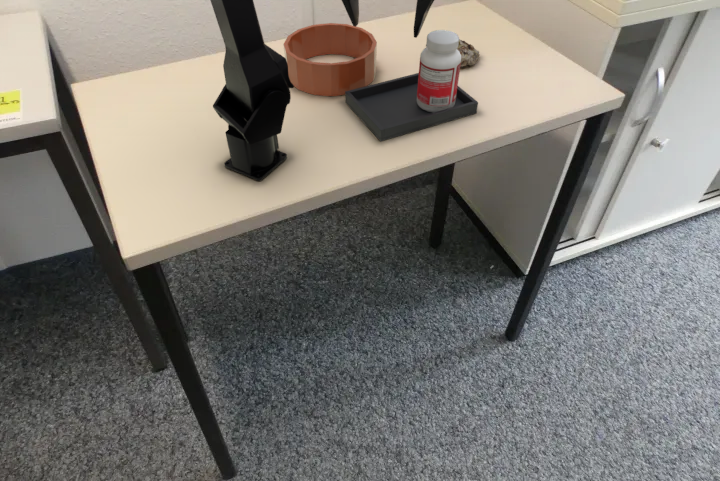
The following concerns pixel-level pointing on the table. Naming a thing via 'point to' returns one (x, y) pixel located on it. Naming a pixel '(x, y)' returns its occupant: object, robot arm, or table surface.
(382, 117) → the tray
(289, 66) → the pot
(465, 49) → the mineral rock
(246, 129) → the robot arm
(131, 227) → the table surface
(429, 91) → the pill bottle
